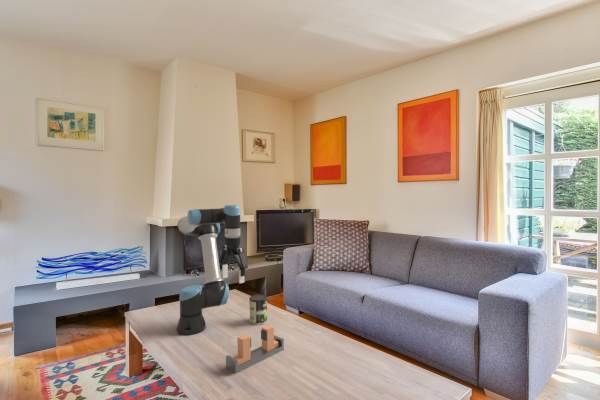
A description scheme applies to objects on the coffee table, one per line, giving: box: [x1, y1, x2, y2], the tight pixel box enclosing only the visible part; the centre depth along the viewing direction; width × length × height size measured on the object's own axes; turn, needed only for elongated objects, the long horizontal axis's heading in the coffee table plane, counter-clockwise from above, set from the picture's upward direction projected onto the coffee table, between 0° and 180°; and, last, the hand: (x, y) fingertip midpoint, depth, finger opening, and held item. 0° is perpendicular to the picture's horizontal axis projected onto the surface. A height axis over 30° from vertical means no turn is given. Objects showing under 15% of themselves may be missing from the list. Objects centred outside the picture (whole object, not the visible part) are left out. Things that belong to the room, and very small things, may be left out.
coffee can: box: [248, 294, 268, 326], centre depth 194 cm, size 10×10×14 cm
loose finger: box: [232, 334, 252, 365], centre depth 145 cm, size 4×8×10 cm, turn 137°
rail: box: [225, 334, 285, 374], centre depth 151 cm, size 7×28×5 cm, turn 137°
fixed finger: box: [260, 324, 279, 351], centre depth 157 cm, size 4×8×10 cm, turn 137°
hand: (233, 280), depth 162 cm, fingers open, 13 cm apart
